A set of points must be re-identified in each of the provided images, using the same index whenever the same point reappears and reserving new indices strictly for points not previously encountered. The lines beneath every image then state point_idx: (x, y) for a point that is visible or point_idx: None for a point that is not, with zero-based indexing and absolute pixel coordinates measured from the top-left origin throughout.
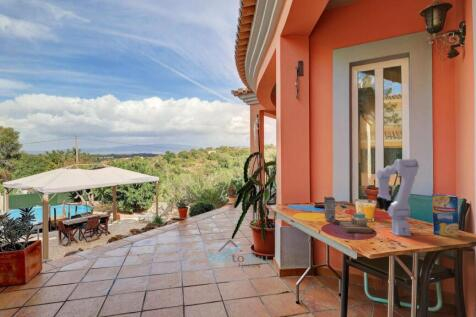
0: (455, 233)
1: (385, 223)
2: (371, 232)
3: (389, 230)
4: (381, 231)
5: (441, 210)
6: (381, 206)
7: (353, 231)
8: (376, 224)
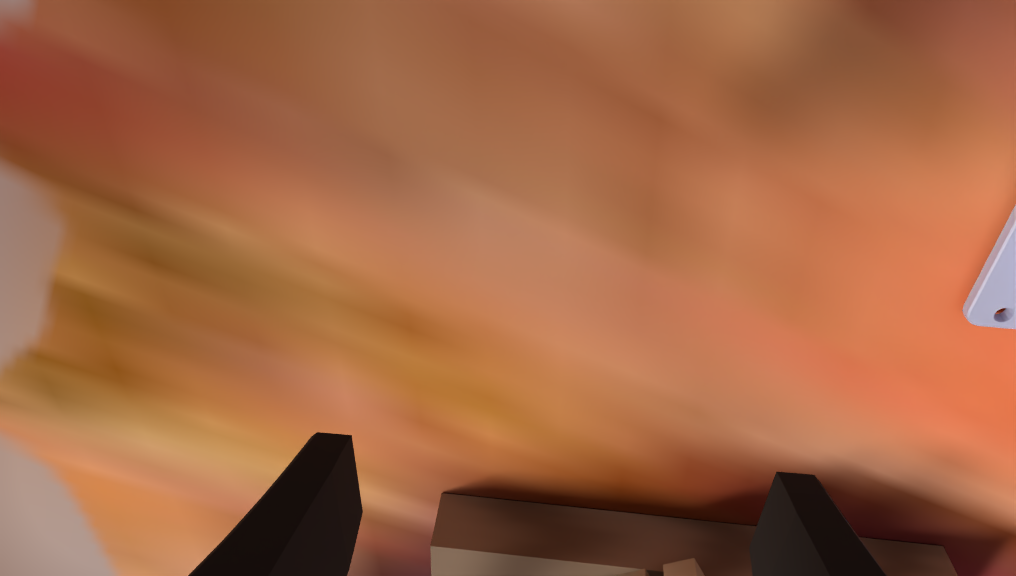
0: None
1: (300, 68)
2: (942, 552)
3: (978, 323)
4: (916, 416)
5: None
6: (325, 557)
7: None
8: (420, 285)
